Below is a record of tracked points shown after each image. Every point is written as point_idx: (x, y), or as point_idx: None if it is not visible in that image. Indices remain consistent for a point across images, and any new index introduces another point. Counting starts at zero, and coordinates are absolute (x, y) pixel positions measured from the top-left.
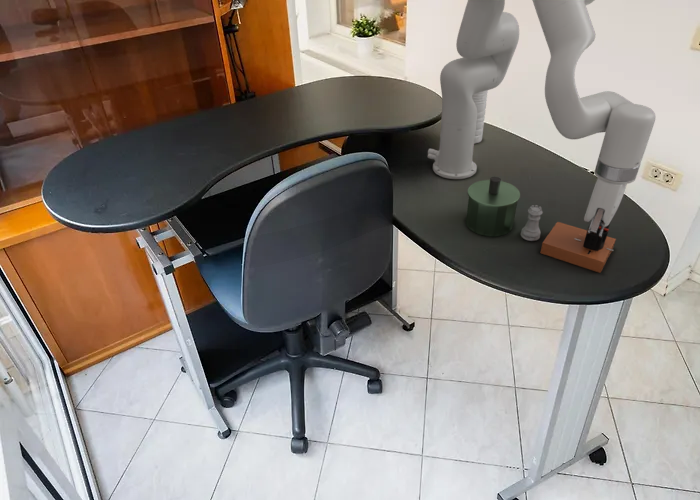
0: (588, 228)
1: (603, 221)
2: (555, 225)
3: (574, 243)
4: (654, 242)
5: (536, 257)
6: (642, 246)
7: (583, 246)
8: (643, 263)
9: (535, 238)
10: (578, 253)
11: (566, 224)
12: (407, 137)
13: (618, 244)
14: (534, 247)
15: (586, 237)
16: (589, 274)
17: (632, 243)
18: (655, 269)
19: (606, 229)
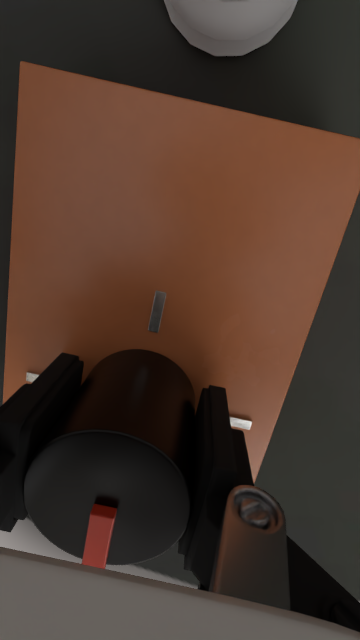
0: (80, 424)
1: (198, 554)
2: (309, 133)
3: (110, 295)
4: (344, 584)
5: (11, 79)
6: (302, 548)
7: (63, 353)
8: (178, 543)
9: (184, 20)
10: (11, 324)
11: (346, 221)
12: None
13: (291, 471)
14: (111, 44)
15: (26, 393)
16: (4, 364)
17: (315, 518)
18: (154, 571)
19: (87, 561)
